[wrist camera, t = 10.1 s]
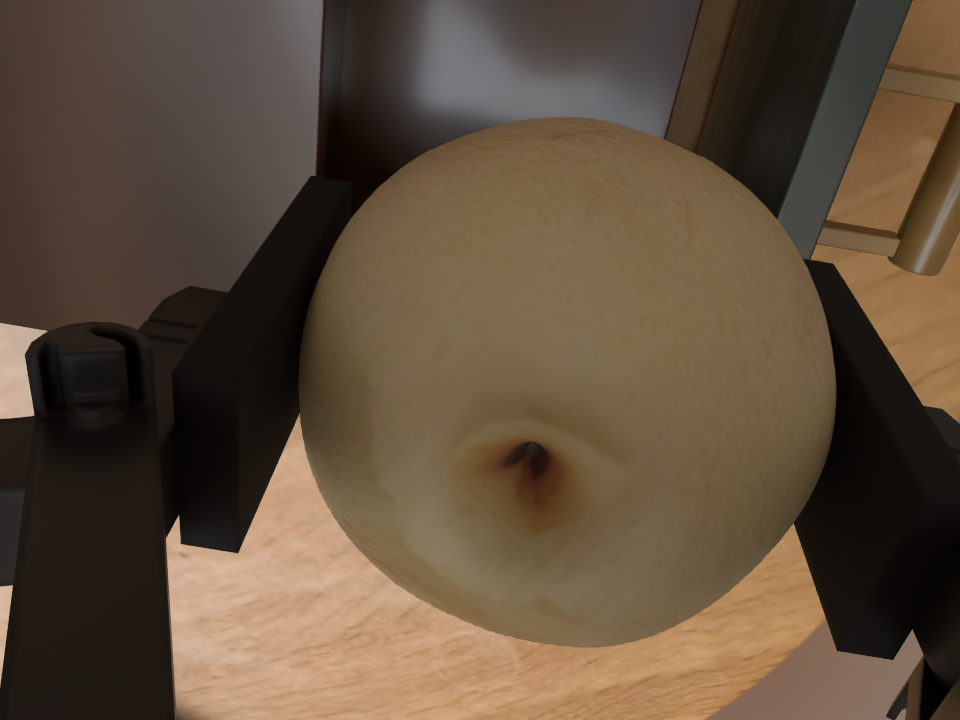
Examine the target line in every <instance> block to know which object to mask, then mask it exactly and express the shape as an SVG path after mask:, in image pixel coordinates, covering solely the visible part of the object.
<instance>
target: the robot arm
mask: <svg viewBox="0 0 960 720" xmlns="http://www.w3.org/2000/svg"><path fill="white" fill-rule="evenodd" d="M352 184H353V182H347V181H341V180H335V179H329V178H323V177H317V176H310V177H309V179H308V180H307V182H306V183H305V185H304V186H303V187H302V189H301V190H300V192H299V193H298V194H297V196H296V197H295V199H294V200H293V201H292V203H291V204H290V206H289V207H288V209H287V210H286V211H285V213H284V214H283V216H282V217H281V218H280V220H279V221H278V223H277V224H276V226H275V227H274V228H273V230H272V231H271V233H270V234H269V235H268V237H267V238H266V240H265V241H264V242H263V244H262V245H261V247H260V248H259V250H258V251H257V252H256V254H255V255H254V257H253V258H252V259H251V261H250V262H249V264H248V265H247V267H246V268H245V269H244V271H243V272H242V274H241V275H240V276H239V278H238V279H237V281H236V282H235V283H234V285H233V286H232V288H231V289H230V291H229V292H224V291H218V290H212V289H206V288H200V287H194V286H188V287H187V288H185V289H183V290H181V291H179V292H177V293H175V294H173V295H171V296H169V297H167V298H165V299H163V300H162V302H161V303H160V304H159V305H158V306H157V308H156V309H155V310H154V311H153V312H152V314H151V315H150V316H149V317H148V321H145V322H144V323H143V324H142V326H141V327H140V328H139V329H138V330H136V329H135V328H132V327H129V326H125V325H121V324H118V323H112V322H93V321H91V322H84V323H76V324H69V325H65V326H62V327H60V328H57V329H54V330H51V331H48V332H46V333H45V334H43V335H42V336H40V337H39V338H37V339H36V340H34V341H33V342H32V343H31V345H30V346H29V348H28V350H27V352H26V354H25V359H26V365H27V371H28V377H29V383H30V390H31V396H32V402H33V408H34V414H35V415H34V416H30V417H21V418H11V419H0V586H9V585H13V590H12V598H11V606H10V614H9V622H8V630H7V638H6V646H5V654H4V662H3V670H2V678H1V686H0V720H177V716H176V700H175V683H174V667H173V650H172V634H171V617H170V601H169V585H168V568H167V553H166V537H167V536H168V534H169V532H170V530H171V528H172V527H173V525H174V523H175V521H176V519H177V517H178V516H179V518H180V536H181V544H184V545H190V546H197V547H203V548H209V549H215V550H221V551H227V552H233V553H238V552H239V550H240V548H241V545H242V543H243V541H244V538H245V536H246V534H247V532H248V529H249V527H250V525H251V523H252V520H253V518H254V516H255V513H256V511H257V509H258V507H259V504H260V502H261V500H262V497H263V495H264V493H265V491H266V488H267V486H268V484H269V482H270V479H271V477H272V475H273V472H274V470H275V468H276V466H277V463H278V461H279V459H280V457H281V454H282V452H283V450H284V447H285V445H286V443H287V441H288V438H289V436H290V434H291V431H292V429H293V427H294V425H295V422H296V420H297V418H298V416H299V413H300V403H299V387H298V386H299V384H298V376H299V358H300V349H301V342H302V336H303V329H304V325H305V321H306V315H307V310H308V307H309V304H310V301H311V298H312V295H313V293H314V290H315V287H316V284H317V282H318V279H319V277H320V275H321V273H322V270H323V268H324V266H325V264H326V262H327V259H328V258H329V255H330V253H331V251H332V249H333V247H334V245H335V243H336V241H337V240H338V238H339V237H340V235H341V233H342V232H343V230H344V228H345V227H346V225H347V224H348V222H349V221H350V212H351V198H352ZM803 261H804V263H805V265H806V266H807V268H808V270H809V273H810V275H811V278H812V280H813V283H814V285H815V287H816V290H817V292H818V295H819V297H820V300H821V304H822V307H823V310H824V313H825V316H826V321H827V326H828V330H829V335H830V340H831V345H832V351H833V359H834V366H835V378H836V410H835V422H834V430H833V435H832V440H831V445H830V448H829V452H828V456H827V459H826V462H825V465H824V468H823V470H822V472H821V475H820V477H819V479H818V482H817V484H816V486H815V488H814V490H813V492H812V494H811V496H810V498H809V500H808V501H807V503H806V505H805V507H804V508H803V510H802V511H801V513H800V514H799V516H798V517H797V519H796V520H795V522H794V525H795V528H796V531H797V534H798V537H799V540H800V543H801V546H802V549H803V552H804V555H805V558H806V561H807V564H808V566H809V569H810V572H811V575H812V578H813V581H814V584H815V587H816V590H817V593H818V596H819V599H820V602H821V605H822V608H823V611H824V614H825V617H826V620H827V622H828V625H829V628H830V631H831V634H832V637H833V640H834V643H835V646H836V649H837V651H841V652H848V653H853V654H859V655H866V656H872V657H878V658H884V659H890V660H893V659H894V658H895V656H896V654H897V653H898V651H899V650H900V648H901V646H902V645H903V643H904V642H905V640H906V638H907V637H908V635H909V633H910V632H911V630H912V629H913V631H914V634H915V636H916V638H917V640H918V643H919V645H920V647H921V649H922V652H923V654H924V655H923V657H922V658H921V660H920V662H919V663H918V665H917V666H916V668H915V669H914V671H913V672H912V674H911V675H910V677H909V679H908V680H907V681H906V683H905V685H904V686H903V688H902V689H901V691H900V692H899V694H898V695H897V697H896V698H895V700H894V702H893V703H892V705H891V706H890V709H889V711H888V713H887V715H886V717H888V718H890V719H892V720H895V719H896V718H897V716H898V714H899V713H900V712H901V710H902V709H905V708H906V718H905V720H960V424H959V423H958V422H957V421H956V420H955V419H953V418H952V417H951V416H950V415H949V414H947V413H946V412H945V411H944V410H943V409H939V408H933V407H927V406H923V405H922V403H921V401H920V400H919V398H918V397H917V395H916V394H915V392H914V390H913V389H912V387H911V386H910V384H909V383H908V381H907V379H906V378H905V376H904V375H903V373H902V371H901V370H900V368H899V367H898V365H897V364H896V362H895V360H894V359H893V357H892V356H891V354H890V352H889V351H888V349H887V348H886V346H885V345H884V343H883V341H882V340H881V338H880V337H879V335H878V333H877V332H876V330H875V329H874V327H873V326H872V324H871V322H870V321H869V319H868V318H867V316H866V315H865V313H864V311H863V310H862V308H861V307H860V305H859V303H858V302H857V300H856V299H855V297H854V296H853V294H852V292H851V291H850V289H849V288H848V286H847V284H846V283H845V281H844V280H843V278H842V277H841V275H840V273H839V272H838V270H837V269H836V267H835V265H834V264H832V263H826V262H820V261H814V260H808V259H803Z"/></svg>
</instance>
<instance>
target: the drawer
mask: <svg viewBox="0 0 960 720" xmlns="http://www.w3.org/2000/svg"><path fill="white" fill-rule="evenodd" d="M912 1H913V0H742V1H741V4H740V8H739V11H738V15H737V18H736V21H735V25H734V28H733V32H732V35H731V38H730V42H729V45H728V48H727V52H726V55H725V59H724V62H723V65H722V69H721V72H720V76H719V79H718V82H717V86H716V89H715V93H714V96H713V99H712V103H711V106H710V110H709V113H708V116H707V120H706V123H705V126H704V130H703V133H702V137H701V140H700V143H699V147H698V150H697V154H696V155H699V156H702V157H704V158H706V159H707V160H709V161H711V162H713V163H714V164H715V165H717V166H718V167H720V168H721V169H723V170H724V171H726V172H727V173H729V174H730V175H731V176H732V177H733V178H735V179H736V180H738V181H739V182H740V183H742V184H743V185H744V186H745V187H746V188H747V189H748V190H750V191H751V192H752V193H753V194H754V195H755V196H756V197H757V198H758V199H759V200H760V201H761V202H762V203H763V204H764V205H765V206H766V207H767V209H768V210H769V211H770V212H771V213H772V214H773V215H774V217H775V218H776V219H777V220H778V222H779V223H780V224H781V225H782V226H783V228H784V229H785V231H786V232H787V234H788V235H789V236H790V238H791V240H792V242H793V243H794V245H795V247H796V248H797V250H798V252H799V254H800V255H801V257H802V259H808V260H810V259H811V256H812V254H813V251H814V249H815V246H816V244H819V245H825V246H831V247H837V248H842V249H848V250H854V251H860V252H866V253H871V254H877V255H883V256H887V257H888V259H889V261H890V262H892V263H893V264H894V265H896V266H898V267H900V268H902V269H904V270H906V271H909V272H912V273H916V274H920V275H927V276H933V275H937V274H938V273H940V271H941V269H942V267H943V265H944V263H945V261H946V259H947V257H948V255H949V252H950V250H951V248H952V246H953V244H954V242H955V240H956V238H957V236H958V234H959V232H960V76H957V75H951V74H946V73H940V72H934V71H929V70H923V69H917V68H912V67H906V66H900V65H895V64H889V63H888V62H889V59H890V57H891V54H892V51H893V49H894V46H895V44H896V41H897V39H898V36H899V34H900V31H901V29H902V26H903V24H904V21H905V19H906V16H907V14H908V11H909V8H910V6H911V3H912ZM702 2H703V0H334V13H333V31H332V48H331V66H330V84H329V102H328V120H327V138H326V156H325V174H324V178H329V179H335V180H341V181H347V182H353V184H352V198H351V212H350V220H351V218H352V217H353V216H354V214H355V213H356V212H357V211H358V210H359V208H360V207H361V206H362V205H363V203H364V202H365V201H366V200H367V199H368V198H369V197H370V196H371V195H372V194H373V193H374V192H375V191H376V189H377V188H378V187H379V186H381V185H382V184H383V183H384V182H386V181H387V180H388V179H389V178H390V177H391V176H392V175H394V174H395V173H396V172H397V171H398V170H399V169H401V168H402V167H404V166H405V165H406V164H408V163H409V162H411V161H413V160H414V159H415V158H417V157H418V156H420V155H423V154H424V153H426V152H427V151H429V150H431V149H435V148H437V147H438V146H440V145H443V144H445V143H448V142H450V141H453V140H455V139H458V138H461V137H463V136H465V135H468V134H471V133H475V132H478V131H481V130H484V129H487V128H491V127H493V126H496V125H500V124H504V123H509V122H513V121H521V120H526V119H536V118H543V117H546V118H550V117H582V118H593V119H598V120H604V121H608V122H611V123H615V124H620V125H624V126H627V127H629V128H632V129H635V130H638V131H640V132H645V133H647V134H651V135H653V136H657V137H660V138H662V139H665V138H666V134H667V131H668V127H669V123H670V120H671V116H672V112H673V109H674V105H675V101H676V98H677V94H678V90H679V87H680V83H681V79H682V76H683V72H684V68H685V65H686V61H687V57H688V54H689V50H690V46H691V43H692V39H693V35H694V32H695V28H696V24H697V21H698V17H699V13H700V10H701V6H702ZM877 89H879V90H884V91H890V92H896V93H902V94H907V95H913V96H919V97H924V98H930V99H936V100H941V101H947V102H953V103H955V105H954V107H953V109H952V111H951V114H950V116H949V118H948V120H947V123H946V125H945V127H944V129H943V132H942V134H941V136H940V138H939V141H938V143H937V145H936V147H935V149H934V152H933V154H932V156H931V158H930V161H929V163H928V165H927V167H926V170H925V172H924V174H923V176H922V179H921V181H920V183H919V185H918V187H917V190H916V192H915V194H914V196H913V199H912V201H911V203H910V205H909V208H908V210H907V212H906V214H905V217H904V219H903V221H902V223H901V225H900V228H899V230H898V232H897V234H896V233H895V232H891V231H886V230H880V229H874V228H868V227H863V226H857V225H851V224H845V223H840V222H834V221H828V220H826V218H827V216H828V213H829V211H830V208H831V206H832V203H833V201H834V198H835V196H836V193H837V191H838V188H839V186H840V183H841V181H842V178H843V175H844V173H845V170H846V168H847V165H848V163H849V160H850V158H851V155H852V153H853V150H854V148H855V145H856V143H857V140H858V138H859V135H860V132H861V130H862V127H863V125H864V122H865V120H866V117H867V115H868V112H869V110H870V107H871V105H872V102H873V100H874V97H875V94H876V92H877Z"/></svg>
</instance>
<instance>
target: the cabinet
mask: <svg viewBox="0 0 960 720" xmlns="http://www.w3.org/2000/svg"><path fill="white" fill-rule="evenodd" d="M333 13H334V0H0V323H4V324H10V325H16V326H22V327H28V328H34V329H40V330H46V331H51V330H54V329H57V328H60V327H62V326H65V325H69V324H76V323H84V322H91V321H93V322H112V323H118V324H121V325H125V326H129V327H132V328H135V329H136V330H138V329H139V328H140V327H141V326H142V324H143V323H144V322H145V321H148V317H149V316H150V315H151V314H152V312H153V311H154V310H155V309H156V308H157V306H158V305H159V304H160V303H161V302H162V300H163V299H165V298H167V297H169V296H171V295H173V294H175V293H177V292H179V291H181V290H183V289H185V288H187V287H188V286H194V287H200V288H206V289H212V290H218V291H224V292H229V291H230V289H231V288H232V286H233V285H234V283H235V282H236V281H237V279H238V278H239V276H240V275H241V274H242V272H243V271H244V269H245V268H246V267H247V265H248V264H249V262H250V261H251V259H252V258H253V257H254V255H255V254H256V252H257V251H258V250H259V248H260V247H261V245H262V244H263V242H264V241H265V240H266V238H267V237H268V235H269V234H270V233H271V231H272V230H273V228H274V227H275V226H276V224H277V223H278V221H279V220H280V218H281V217H282V216H283V214H284V213H285V211H286V210H287V209H288V207H289V206H290V204H291V203H292V201H293V200H294V199H295V197H296V196H297V194H298V193H299V192H300V190H301V189H302V187H303V186H304V185H305V183H306V182H307V180H308V179H309V177H310V176H317V177H323V178H324V174H325V156H326V138H327V120H328V102H329V84H330V66H331V48H332V31H333Z"/></svg>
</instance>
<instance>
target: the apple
mask: <svg viewBox="0 0 960 720" xmlns="http://www.w3.org/2000/svg"><path fill="white" fill-rule="evenodd" d="M298 384H299V386H298V387H299V403H300V421H301V428H302V435H303V440H304V444H305V450H306V454H307V458H308V461H309V464H310V467H311V470H312V473H313V476H314V478H315V480H316V482H317V485H318V488H319V490H320V492H321V494H322V496H323V498H324V500H325V502H326V504H327V506H328V508H329V509H330V511H331V513H332V514H333V516H334V518H335V519H336V520H337V522H338V523H339V525H340V527H341V528H342V529H343V530H344V532H345V533H346V535H347V536H348V538H349V539H350V540H351V541H352V542H353V543H354V544H355V546H356V547H357V548H358V549H359V550H360V551H361V552H362V553H363V555H364V556H365V557H367V558H368V559H369V561H370V562H371V563H372V564H373V565H375V566H376V567H377V568H378V569H379V570H380V571H381V572H382V573H384V574H385V575H386V576H387V577H389V578H390V579H391V580H392V581H393V582H394V583H396V584H397V585H398V586H400V587H402V588H403V589H405V590H406V591H408V592H409V593H411V594H413V595H414V596H416V597H418V598H419V599H421V600H423V601H425V602H427V603H429V604H430V605H432V606H433V607H435V608H438V609H439V610H441V611H444V612H446V613H448V614H450V615H453V616H456V617H458V618H459V619H461V620H463V621H465V622H468V623H471V624H473V625H475V626H478V627H481V628H483V629H486V630H488V631H492V632H495V633H498V634H502V635H505V636H511V637H514V638H517V639H523V640H528V641H532V642H538V643H544V644H552V645H559V646H571V647H604V646H614V645H619V644H624V643H629V642H634V641H637V640H640V639H643V638H647V637H650V636H654V635H656V634H658V633H660V632H663V631H665V630H667V629H669V628H671V627H674V626H676V625H677V624H679V623H681V622H683V621H685V620H687V619H689V618H691V617H692V616H694V615H696V614H698V613H700V612H701V611H702V610H704V609H705V608H707V607H708V606H710V605H711V604H712V603H714V602H715V601H717V600H718V599H720V598H721V597H722V596H723V595H725V594H726V593H727V592H729V591H730V590H731V589H732V588H733V587H734V586H736V585H737V584H738V583H739V582H740V581H741V580H742V579H743V578H744V577H745V576H746V575H748V574H749V573H750V572H751V571H752V570H753V569H754V568H755V567H756V566H757V565H758V564H759V563H760V562H761V561H762V560H763V558H764V557H765V556H766V555H767V554H768V553H769V552H770V551H771V550H772V549H773V548H774V547H775V546H776V544H777V543H778V542H779V541H780V540H781V538H782V537H783V536H784V535H785V533H786V532H787V531H788V530H789V528H790V527H791V526H792V524H793V523H794V522H795V520H796V519H797V517H798V516H799V514H800V513H801V511H802V510H803V508H804V507H805V505H806V503H807V501H808V500H809V498H810V496H811V494H812V492H813V490H814V488H815V486H816V484H817V482H818V479H819V477H820V475H821V472H822V470H823V468H824V465H825V462H826V459H827V456H828V452H829V448H830V445H831V440H832V435H833V430H834V422H835V410H836V378H835V366H834V359H833V351H832V345H831V340H830V335H829V330H828V326H827V321H826V316H825V313H824V310H823V307H822V304H821V300H820V297H819V295H818V292H817V290H816V287H815V285H814V283H813V280H812V278H811V275H810V273H809V270H808V268H807V266H806V265H805V263H804V261H803V259H802V257H801V255H800V254H799V252H798V250H797V248H796V247H795V245H794V243H793V242H792V240H791V238H790V236H789V235H788V234H787V232H786V231H785V229H784V228H783V226H782V225H781V224H780V223H779V222H778V220H777V219H776V218H775V217H774V215H773V214H772V213H771V212H770V211H769V210H768V209H767V207H766V206H765V205H764V204H763V203H762V202H761V201H760V200H759V199H758V198H757V197H756V196H755V195H754V194H753V193H752V192H751V191H750V190H748V189H747V188H746V187H745V186H744V185H743V184H742V183H740V182H739V181H738V180H736V179H735V178H733V177H732V176H731V175H730V174H729V173H727V172H726V171H724V170H723V169H721V168H720V167H718V166H717V165H715V164H714V163H713V162H711V161H709V160H707V159H706V158H704V157H702V156H699V155H696V154H695V153H693V152H691V151H689V150H686V149H684V148H682V147H680V146H677V145H675V144H673V143H671V142H670V141H667V140H665V139H662V138H660V137H657V136H653V135H651V134H647V133H645V132H640V131H638V130H635V129H632V128H629V127H627V126H624V125H620V124H615V123H611V122H608V121H604V120H598V119H593V118H582V117H550V118H546V117H543V118H536V119H526V120H521V121H513V122H509V123H504V124H500V125H496V126H493V127H491V128H487V129H484V130H481V131H478V132H475V133H471V134H468V135H465V136H463V137H461V138H458V139H455V140H453V141H450V142H448V143H445V144H443V145H440V146H438V147H437V148H435V149H431V150H429V151H427V152H426V153H424V154H423V155H420V156H418V157H417V158H415V159H414V160H413V161H411V162H409V163H408V164H406V165H405V166H404V167H402V168H401V169H399V170H398V171H397V172H396V173H395V174H394V175H392V176H391V177H390V178H389V179H388V180H387V181H386V182H384V183H383V184H382V185H381V186H379V187H378V188H377V189H376V191H375V192H374V193H373V194H372V195H371V196H370V197H369V198H368V199H367V200H366V201H365V202H364V203H363V205H362V206H361V207H360V208H359V210H358V211H357V212H356V213H355V214H354V216H353V217H352V218H351V220H350V221H349V222H348V224H347V225H346V227H345V228H344V230H343V232H342V233H341V235H340V237H339V238H338V240H337V241H336V243H335V245H334V247H333V249H332V251H331V253H330V255H329V258H328V259H327V262H326V264H325V266H324V268H323V270H322V273H321V275H320V277H319V279H318V282H317V284H316V287H315V290H314V293H313V295H312V298H311V301H310V304H309V307H308V310H307V315H306V321H305V325H304V329H303V336H302V342H301V349H300V358H299V376H298Z"/></svg>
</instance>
